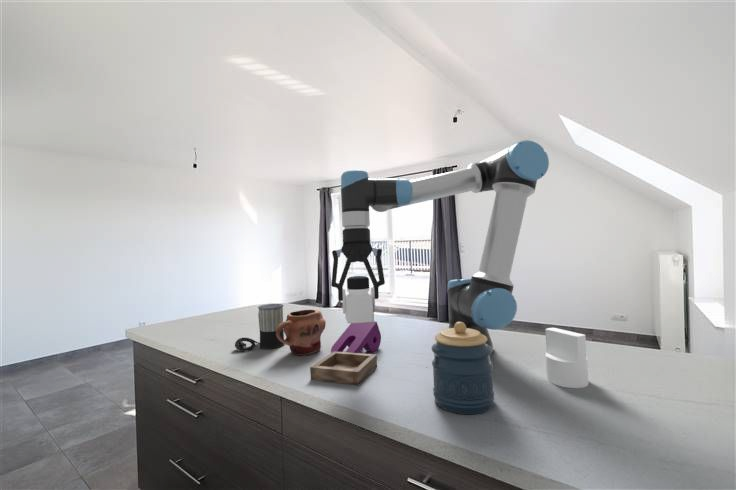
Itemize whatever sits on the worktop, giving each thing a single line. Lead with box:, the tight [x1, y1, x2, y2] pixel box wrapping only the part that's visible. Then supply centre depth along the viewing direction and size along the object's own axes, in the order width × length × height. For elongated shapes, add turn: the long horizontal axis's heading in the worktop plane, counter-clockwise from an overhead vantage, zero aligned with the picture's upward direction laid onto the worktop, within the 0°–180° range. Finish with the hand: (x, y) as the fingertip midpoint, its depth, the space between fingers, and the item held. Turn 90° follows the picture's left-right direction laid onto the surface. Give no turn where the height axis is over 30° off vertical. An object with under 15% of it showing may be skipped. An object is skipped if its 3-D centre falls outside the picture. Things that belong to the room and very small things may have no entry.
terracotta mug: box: [276, 309, 326, 356], centre depth 116 cm, size 20×12×14 cm, turn 145°
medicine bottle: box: [345, 275, 375, 324], centre depth 94 cm, size 7×7×12 cm
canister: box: [431, 322, 495, 415], centre depth 76 cm, size 13×13×18 cm
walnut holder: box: [309, 351, 378, 386], centre depth 96 cm, size 14×14×3 cm
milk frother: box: [234, 303, 286, 352], centre depth 125 cm, size 14×16×15 cm
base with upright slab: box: [544, 327, 589, 389], centre depth 84 cm, size 9×9×12 cm
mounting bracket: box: [330, 320, 382, 354], centre depth 114 cm, size 10×8×18 cm
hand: (359, 311), depth 93 cm, fingers closed on medicine bottle, 7 cm apart
